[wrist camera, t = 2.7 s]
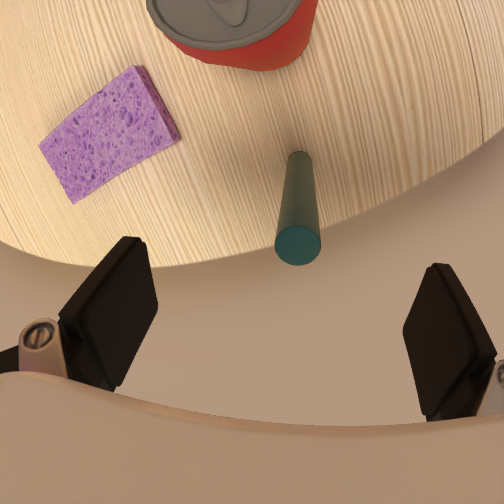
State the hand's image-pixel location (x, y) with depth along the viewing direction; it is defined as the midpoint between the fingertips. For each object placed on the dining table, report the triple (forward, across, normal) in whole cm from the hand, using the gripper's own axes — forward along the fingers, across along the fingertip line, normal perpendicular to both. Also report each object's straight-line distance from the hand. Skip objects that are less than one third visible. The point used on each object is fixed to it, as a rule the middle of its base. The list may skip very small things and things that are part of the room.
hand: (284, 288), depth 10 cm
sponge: (+15, +15, -2) cm, 22 cm away
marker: (+15, -1, 0) cm, 15 cm away
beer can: (+15, +2, -10) cm, 18 cm away
